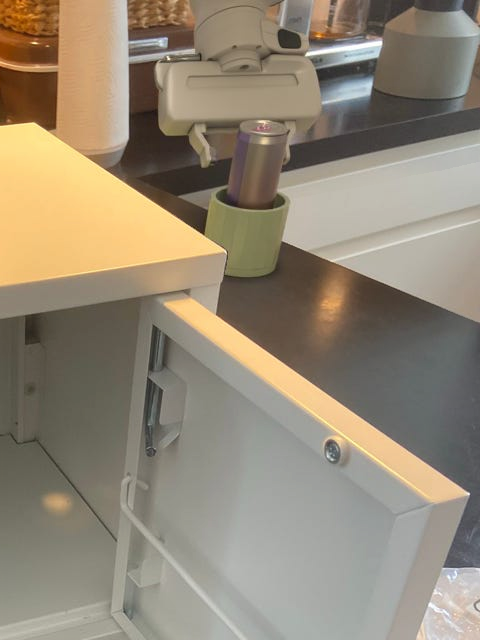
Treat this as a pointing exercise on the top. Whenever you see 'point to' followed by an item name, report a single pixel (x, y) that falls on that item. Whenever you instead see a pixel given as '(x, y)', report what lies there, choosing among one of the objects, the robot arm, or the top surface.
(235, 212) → the tumbler
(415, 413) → the top surface
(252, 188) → the beverage can
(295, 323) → the top surface
